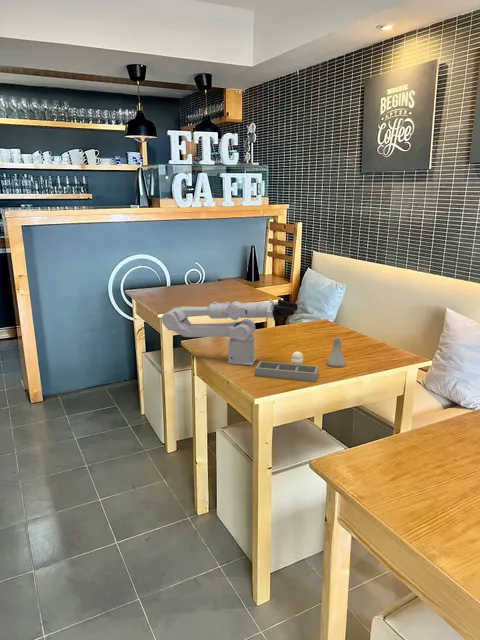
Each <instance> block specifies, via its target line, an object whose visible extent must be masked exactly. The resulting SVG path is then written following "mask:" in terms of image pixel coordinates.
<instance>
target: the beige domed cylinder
mask: <svg viewBox="0 0 480 640" xmlns="http://www.w3.org/2000/svg"><path fill="white" fill-rule="evenodd" d="M290 358H291V359H290V360H291V361H290V362H291V363H290V364H299V365H304V355H303V353H302V352H301V351H294V352H293V353H292V354H291V357H290Z"/></svg>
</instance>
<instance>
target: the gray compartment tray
mask: <svg viewBox="0 0 480 640" xmlns="http://www.w3.org/2000/svg"><path fill="white" fill-rule="evenodd" d="M254 376H255V377H260V378H271V379H280V380H290V381H291V380H292V381H301V382H311V383H312V382H313V383H316V382H317V379H318V376H319V366H318V365H311V364H310V365H307V364H303V365H299V364H291V363H286V362H285V363H284V362H274V361H263V360H259V362H258V364H257V365H256V366H255V368H254Z"/></svg>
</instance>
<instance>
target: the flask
mask: <svg viewBox="0 0 480 640" xmlns="http://www.w3.org/2000/svg"><path fill="white" fill-rule="evenodd" d="M332 340H333V346H332V349H331V352H330V354H329V357H328V359H327V362H326V364H327V366H329V367H334V368H344V367H345V366H346V365H347V362H346V359H345V357H344V353H343V350H342V341H343V339H342V338H341V337H333V338H332Z"/></svg>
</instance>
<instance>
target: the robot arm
mask: <svg viewBox="0 0 480 640" xmlns="http://www.w3.org/2000/svg"><path fill="white" fill-rule="evenodd" d="M298 306H299V305H298V303H295V302H290V301H286V300H284V299H281V298H278V299H277V302H274V301H273V298H270V299H269V301H265V302H264V301H256V302H254V301H253V302H252V301H251V302H241V301H236V300H234V301H232V302H231V303H230V301H227V302H224V303H223V302H221V303H220V302H219V303H218V301H214V302H212V303H210V304H209V305H208V306H184V305H183V306H176V307H173V308H171V309H170V310H169V311H166V312H165V313H163V315H162V317H161V322H162V325H163V326H164V327H165V329H166V330H167V331H172V332H174V333H176V334H179V335H180V336H181V337H184V338H216V337H217V338H219V337H220V338H221V337H222V338H224V337H225V338H227V337H229V341H228V346H227V347H228V349H227V351H228V361H227V364H233V365H244V366H245V365H246V366H253V365H254V364H255V362H256V360H257V359H258V358H257V357H255V337H254V335H253V334H254V333H255V331H256V324H255V322H254V321H253V320H252V319H255V318H256V319H257V318H258V319H259V318H260V319H261V318H262V319H265V318H268V319H269V318H270V319H273V321H278V320H280V319H282V318H286V317H291V316H294V315H295V311H297V310H298V308H299V307H298ZM203 316H208V317H209V318H210V319H214V320H215V319H216V320H217V319H231V320H233V321H234V322H231V323H230V322H227V323H224V322H223V323H221V322H220V323H191V322H190V320H189V318H191V317H203ZM240 318H241V319H242V320H240V321H237V320H239V319H240Z"/></svg>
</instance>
